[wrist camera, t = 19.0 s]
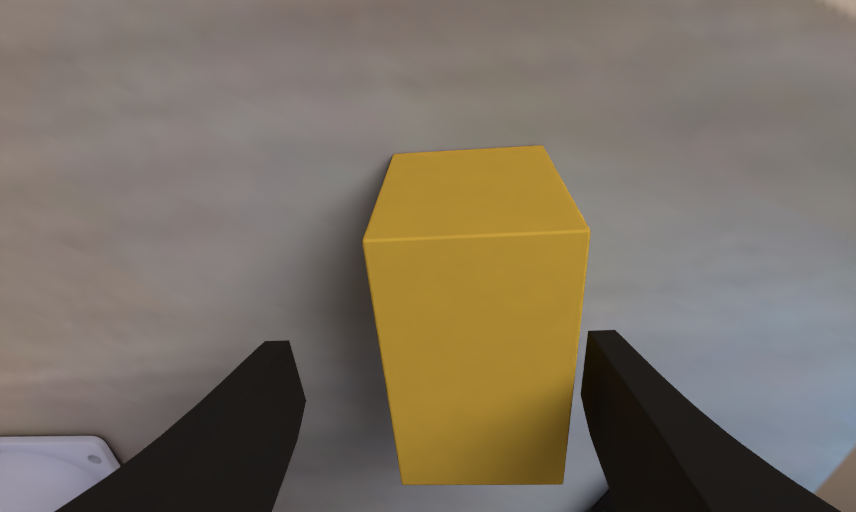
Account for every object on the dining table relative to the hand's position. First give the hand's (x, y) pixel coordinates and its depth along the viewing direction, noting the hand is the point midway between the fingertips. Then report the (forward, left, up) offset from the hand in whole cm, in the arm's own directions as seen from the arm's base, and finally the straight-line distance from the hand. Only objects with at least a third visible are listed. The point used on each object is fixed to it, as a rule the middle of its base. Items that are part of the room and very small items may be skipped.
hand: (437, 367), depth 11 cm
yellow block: (+1, -1, -4) cm, 4 cm away
